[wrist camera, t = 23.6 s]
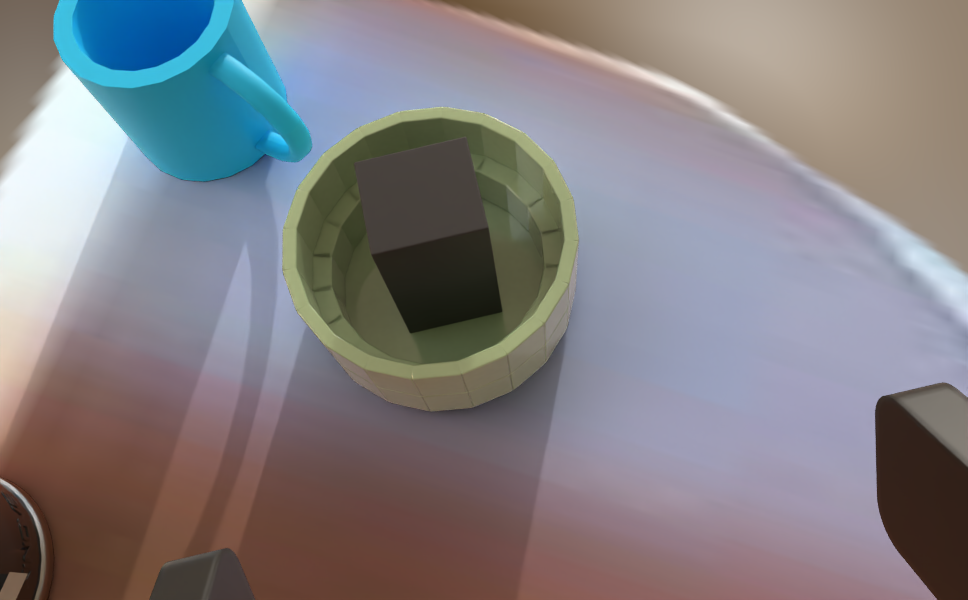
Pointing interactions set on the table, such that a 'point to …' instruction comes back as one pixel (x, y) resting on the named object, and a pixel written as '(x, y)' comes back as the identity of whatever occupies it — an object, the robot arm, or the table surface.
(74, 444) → the table surface
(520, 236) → the bowl
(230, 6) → the mug
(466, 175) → the dark rectangular block
